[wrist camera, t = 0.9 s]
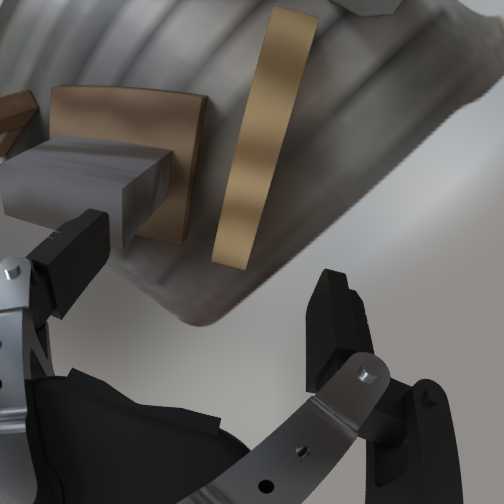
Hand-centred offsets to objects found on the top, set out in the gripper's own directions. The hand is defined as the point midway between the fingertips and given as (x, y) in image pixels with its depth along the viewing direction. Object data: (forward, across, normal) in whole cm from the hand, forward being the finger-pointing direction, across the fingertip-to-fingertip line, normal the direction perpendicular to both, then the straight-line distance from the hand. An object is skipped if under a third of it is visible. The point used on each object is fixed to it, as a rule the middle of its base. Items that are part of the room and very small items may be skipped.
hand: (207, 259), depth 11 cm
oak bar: (+21, 0, 0) cm, 21 cm away
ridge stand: (+20, +15, +5) cm, 26 cm away
